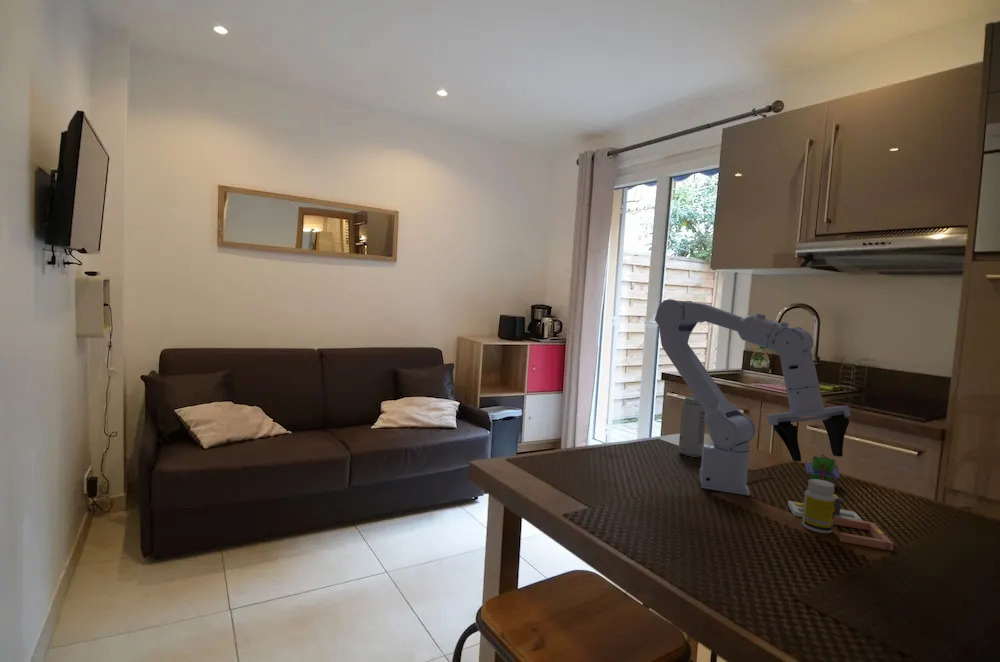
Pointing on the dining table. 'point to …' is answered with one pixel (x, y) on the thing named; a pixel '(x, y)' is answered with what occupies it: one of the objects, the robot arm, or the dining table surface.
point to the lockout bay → (877, 542)
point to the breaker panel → (798, 511)
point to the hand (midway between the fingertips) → (817, 458)
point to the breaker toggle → (837, 504)
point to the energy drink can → (692, 428)
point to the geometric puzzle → (822, 468)
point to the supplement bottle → (819, 506)
